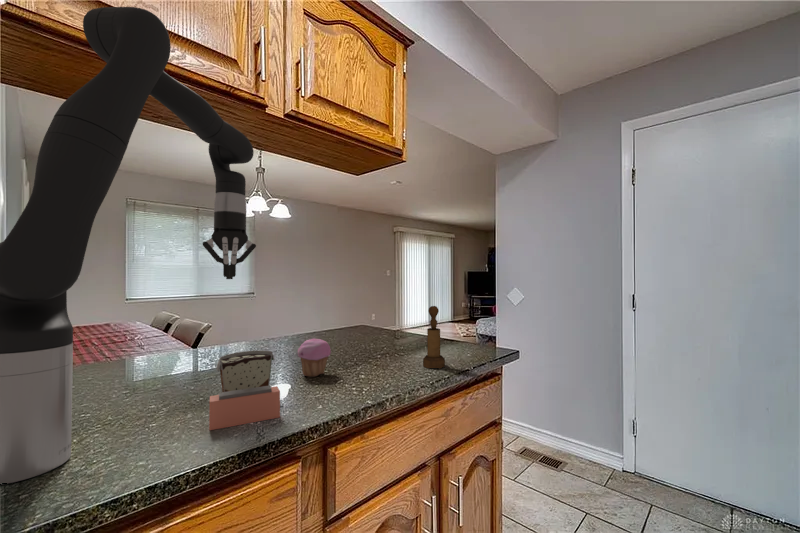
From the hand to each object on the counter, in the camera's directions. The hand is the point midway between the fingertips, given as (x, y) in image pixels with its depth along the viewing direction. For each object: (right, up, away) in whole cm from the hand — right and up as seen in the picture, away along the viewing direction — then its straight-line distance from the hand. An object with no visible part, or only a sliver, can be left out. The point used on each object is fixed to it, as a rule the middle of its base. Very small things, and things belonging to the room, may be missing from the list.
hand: (229, 279), depth 90 cm
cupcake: (+20, -27, +6) cm, 34 cm away
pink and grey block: (+15, -26, -24) cm, 38 cm away
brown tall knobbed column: (+54, -27, +15) cm, 62 cm away
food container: (+9, -27, -12) cm, 31 cm away
